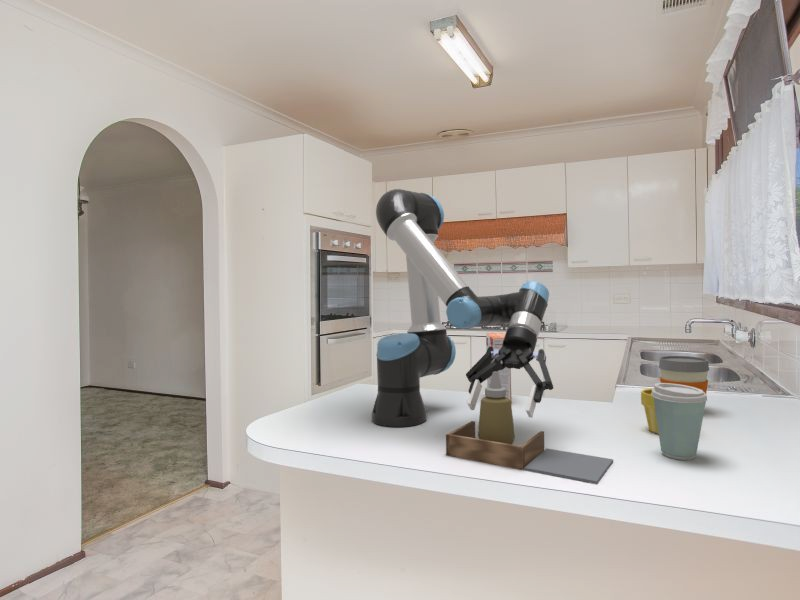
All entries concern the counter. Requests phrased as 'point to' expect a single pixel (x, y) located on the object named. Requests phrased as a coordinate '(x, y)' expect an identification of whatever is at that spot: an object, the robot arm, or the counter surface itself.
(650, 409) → the plant pot
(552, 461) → the slate mat
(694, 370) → the reusable coffee cup
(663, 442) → the disposable coffee cup
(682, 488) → the counter surface
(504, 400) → the squeeze bottle
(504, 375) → the cracker box
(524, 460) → the walnut nook
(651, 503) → the counter surface
